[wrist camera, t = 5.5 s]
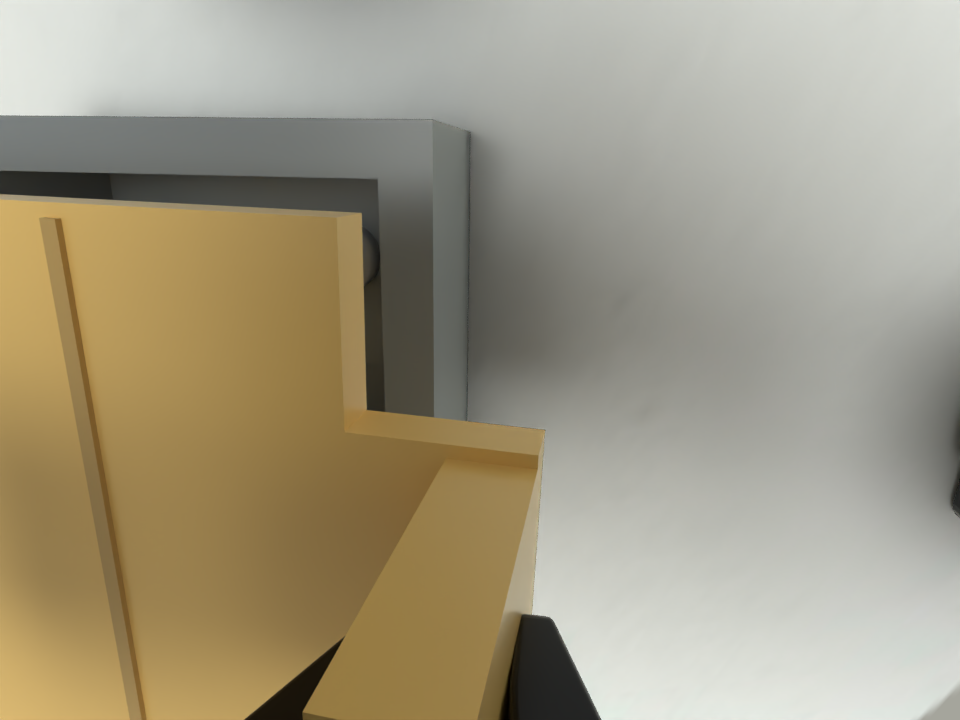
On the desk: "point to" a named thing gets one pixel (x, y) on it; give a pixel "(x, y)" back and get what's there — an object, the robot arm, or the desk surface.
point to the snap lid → (235, 480)
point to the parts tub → (302, 186)
